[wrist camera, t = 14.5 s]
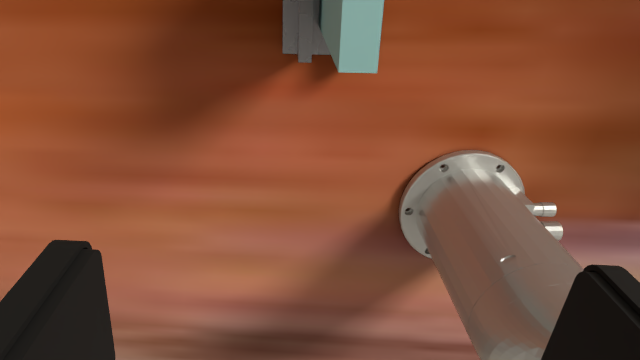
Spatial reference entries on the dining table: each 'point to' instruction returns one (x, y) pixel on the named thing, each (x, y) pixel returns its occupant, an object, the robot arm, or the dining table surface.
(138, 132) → the dining table surface
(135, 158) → the dining table surface
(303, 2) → the stand
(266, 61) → the dining table surface
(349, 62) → the teal rectangular slab
